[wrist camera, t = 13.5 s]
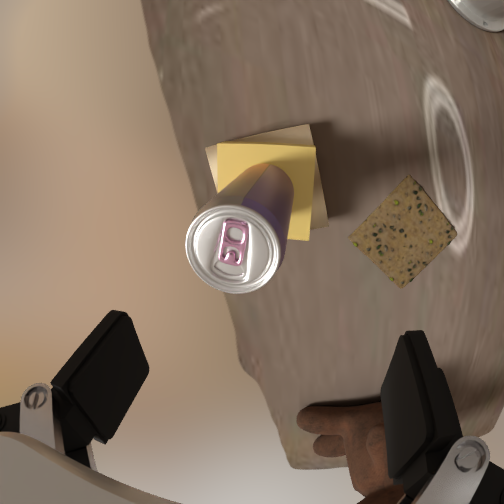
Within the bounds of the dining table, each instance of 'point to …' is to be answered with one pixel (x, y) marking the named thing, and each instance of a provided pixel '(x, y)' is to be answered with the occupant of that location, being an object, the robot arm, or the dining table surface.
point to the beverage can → (242, 231)
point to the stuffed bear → (355, 446)
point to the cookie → (404, 233)
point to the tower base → (292, 137)
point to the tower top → (283, 156)
